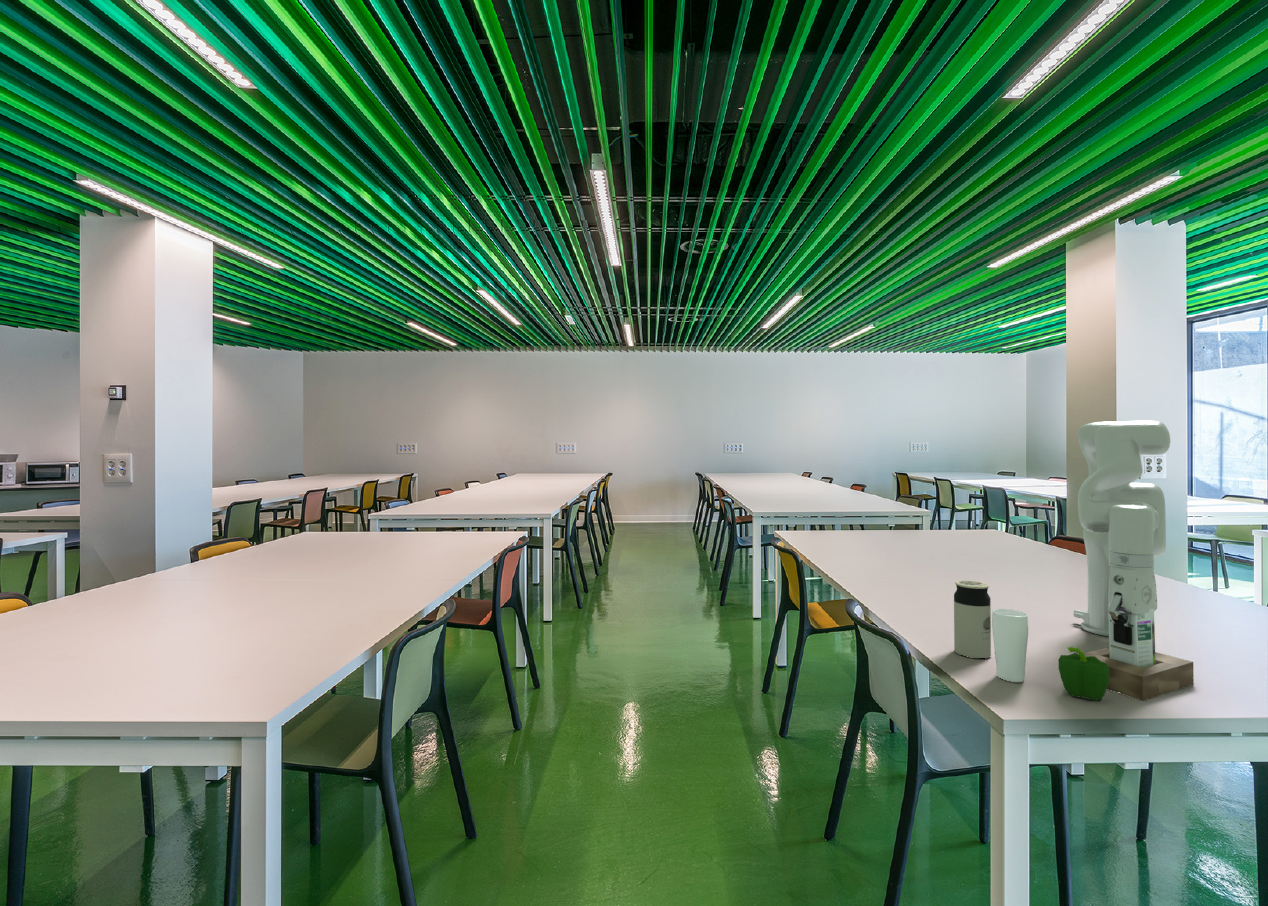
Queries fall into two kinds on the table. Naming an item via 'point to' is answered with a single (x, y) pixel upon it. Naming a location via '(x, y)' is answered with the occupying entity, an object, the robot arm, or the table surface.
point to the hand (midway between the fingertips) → (1131, 640)
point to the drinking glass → (1010, 643)
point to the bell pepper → (1083, 675)
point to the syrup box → (1135, 641)
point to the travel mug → (972, 619)
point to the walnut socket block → (1146, 675)
